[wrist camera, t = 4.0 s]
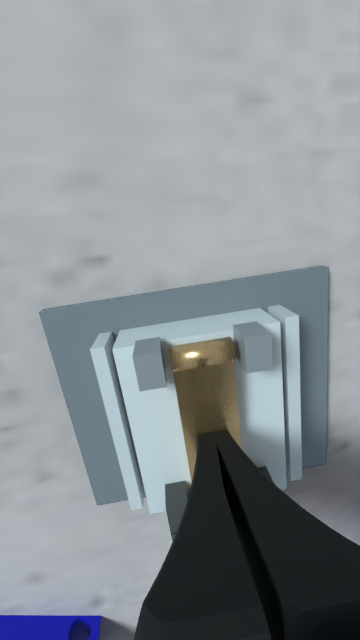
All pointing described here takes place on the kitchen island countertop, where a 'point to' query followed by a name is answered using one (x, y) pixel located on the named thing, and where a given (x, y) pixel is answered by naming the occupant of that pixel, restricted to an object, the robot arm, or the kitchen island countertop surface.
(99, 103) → the kitchen island countertop surface
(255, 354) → the heat-sink board
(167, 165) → the kitchen island countertop surface
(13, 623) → the blue half clamp bracket
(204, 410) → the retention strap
